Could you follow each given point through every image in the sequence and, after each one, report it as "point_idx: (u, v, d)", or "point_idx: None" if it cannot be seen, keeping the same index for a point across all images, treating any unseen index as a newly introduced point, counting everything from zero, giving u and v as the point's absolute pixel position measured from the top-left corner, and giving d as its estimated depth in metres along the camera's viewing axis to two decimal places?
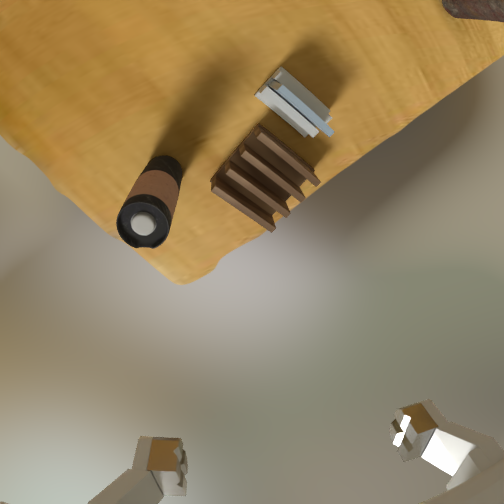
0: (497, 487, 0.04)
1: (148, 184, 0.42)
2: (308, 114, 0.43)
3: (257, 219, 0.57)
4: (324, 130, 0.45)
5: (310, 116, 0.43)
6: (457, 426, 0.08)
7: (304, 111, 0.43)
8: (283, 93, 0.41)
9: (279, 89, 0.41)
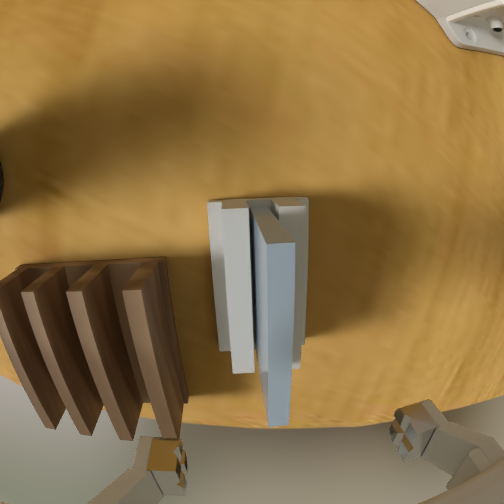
0: (497, 487, 0.04)
1: None
2: (275, 361, 0.15)
3: (32, 396, 0.20)
4: (272, 411, 0.16)
5: (274, 368, 0.15)
6: (457, 426, 0.08)
7: (274, 349, 0.15)
8: (273, 267, 0.13)
9: (274, 247, 0.13)
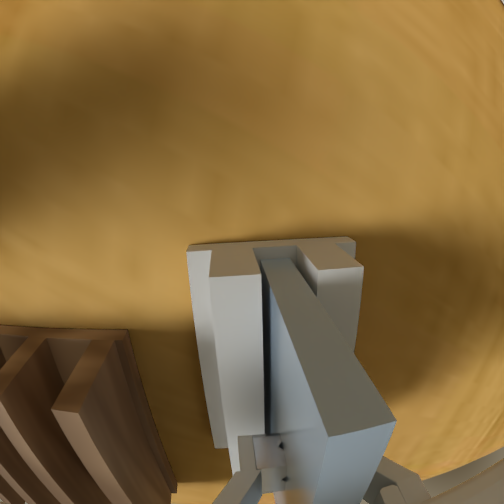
0: (497, 487, 0.04)
1: None
2: None
3: None
4: None
5: None
6: None
7: None
8: (335, 468, 0.04)
9: (346, 437, 0.04)
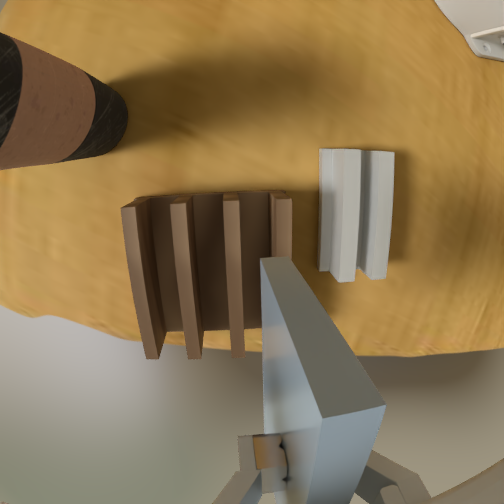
0: (497, 487, 0.04)
1: (47, 58, 0.12)
2: None
3: (143, 321, 0.26)
4: None
5: None
6: (377, 455, 0.08)
7: None
8: (330, 450, 0.05)
9: (340, 419, 0.05)
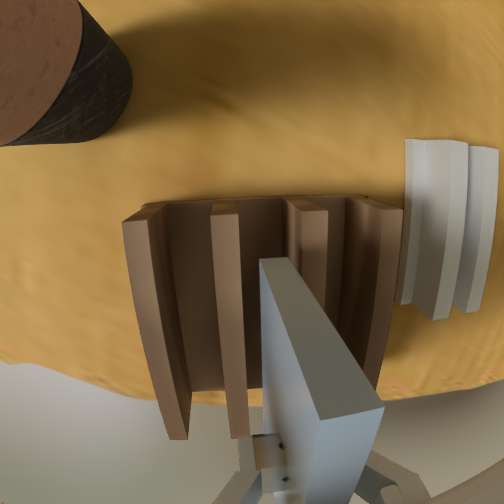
0: (497, 487, 0.04)
1: None
2: None
3: (165, 396, 0.16)
4: None
5: None
6: (378, 455, 0.08)
7: None
8: (328, 452, 0.05)
9: (337, 421, 0.05)
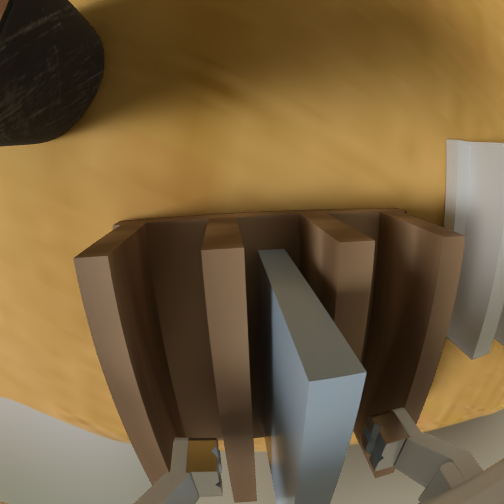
0: (497, 487, 0.04)
1: None
2: None
3: (152, 464, 0.11)
4: None
5: None
6: (431, 437, 0.08)
7: (303, 500, 0.07)
8: (317, 415, 0.06)
9: (324, 384, 0.06)
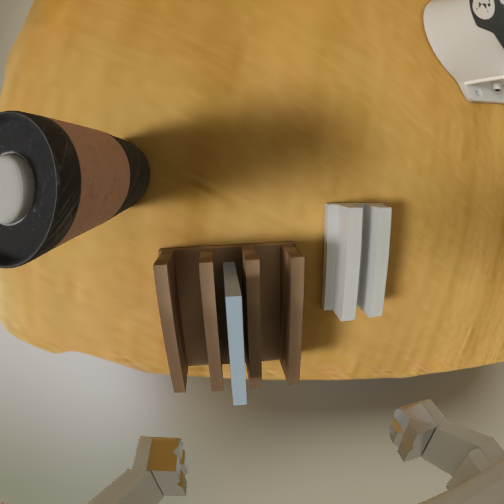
0: (497, 487, 0.04)
1: (92, 141, 0.15)
2: (234, 361, 0.25)
3: (173, 361, 0.29)
4: (235, 394, 0.26)
5: (234, 366, 0.25)
6: (457, 426, 0.08)
7: (233, 354, 0.25)
8: (229, 308, 0.24)
9: (230, 298, 0.24)
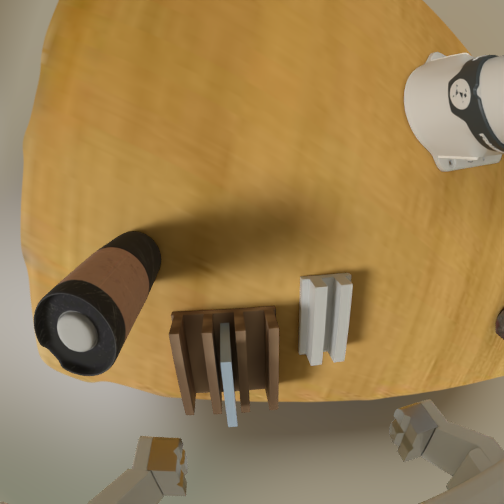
0: (497, 487, 0.04)
1: (123, 284, 0.25)
2: (227, 400, 0.35)
3: (185, 394, 0.39)
4: (229, 420, 0.36)
5: (228, 403, 0.35)
6: (457, 426, 0.08)
7: (226, 396, 0.35)
8: (223, 369, 0.33)
9: (223, 363, 0.33)
